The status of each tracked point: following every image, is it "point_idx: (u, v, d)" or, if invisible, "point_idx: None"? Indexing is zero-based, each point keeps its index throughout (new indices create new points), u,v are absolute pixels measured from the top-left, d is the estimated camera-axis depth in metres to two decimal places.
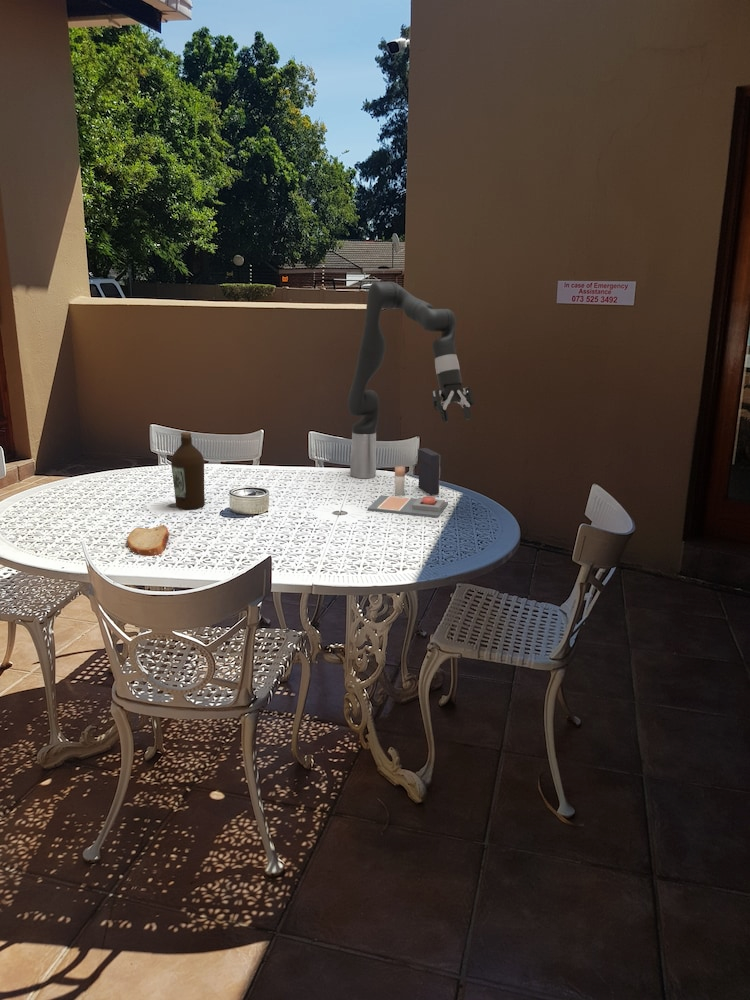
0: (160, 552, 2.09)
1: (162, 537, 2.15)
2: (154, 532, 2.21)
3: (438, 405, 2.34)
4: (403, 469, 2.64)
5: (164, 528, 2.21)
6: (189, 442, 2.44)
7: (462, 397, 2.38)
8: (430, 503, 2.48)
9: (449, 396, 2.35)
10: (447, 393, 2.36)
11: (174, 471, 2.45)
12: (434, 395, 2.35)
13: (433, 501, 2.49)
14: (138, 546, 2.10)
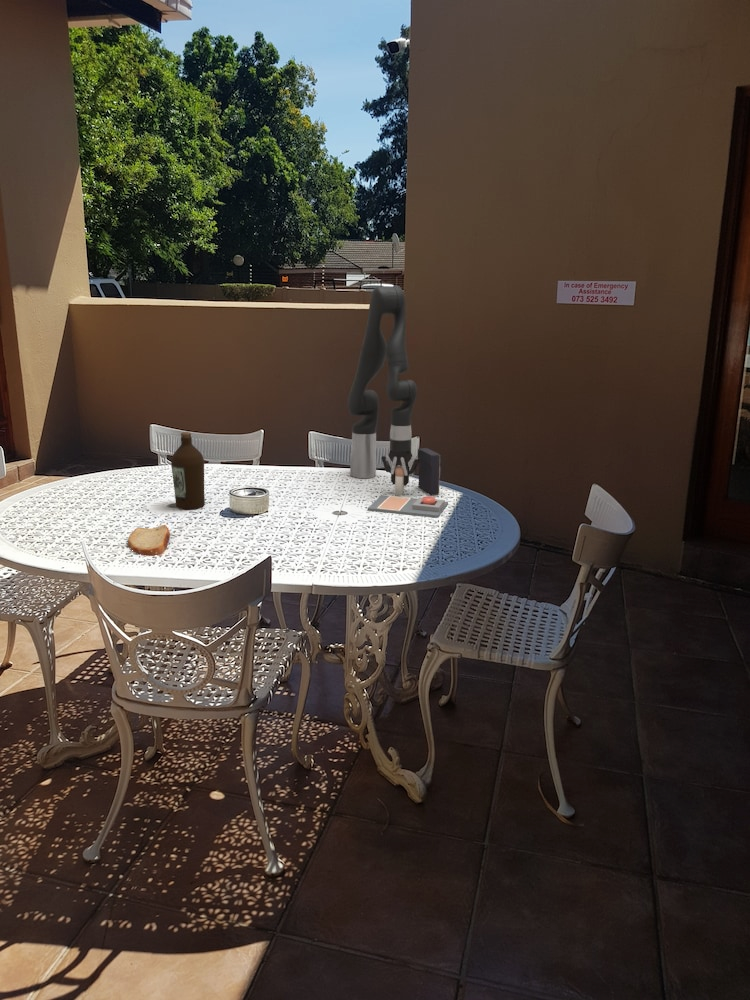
0: (161, 552, 2.09)
1: (163, 537, 2.15)
2: (155, 532, 2.21)
3: (386, 469, 2.66)
4: None
5: (165, 528, 2.21)
6: (189, 442, 2.44)
7: (403, 465, 2.63)
8: (430, 503, 2.48)
9: (394, 462, 2.63)
10: (392, 459, 2.64)
11: (174, 471, 2.45)
12: None
13: (433, 501, 2.49)
14: (139, 545, 2.10)
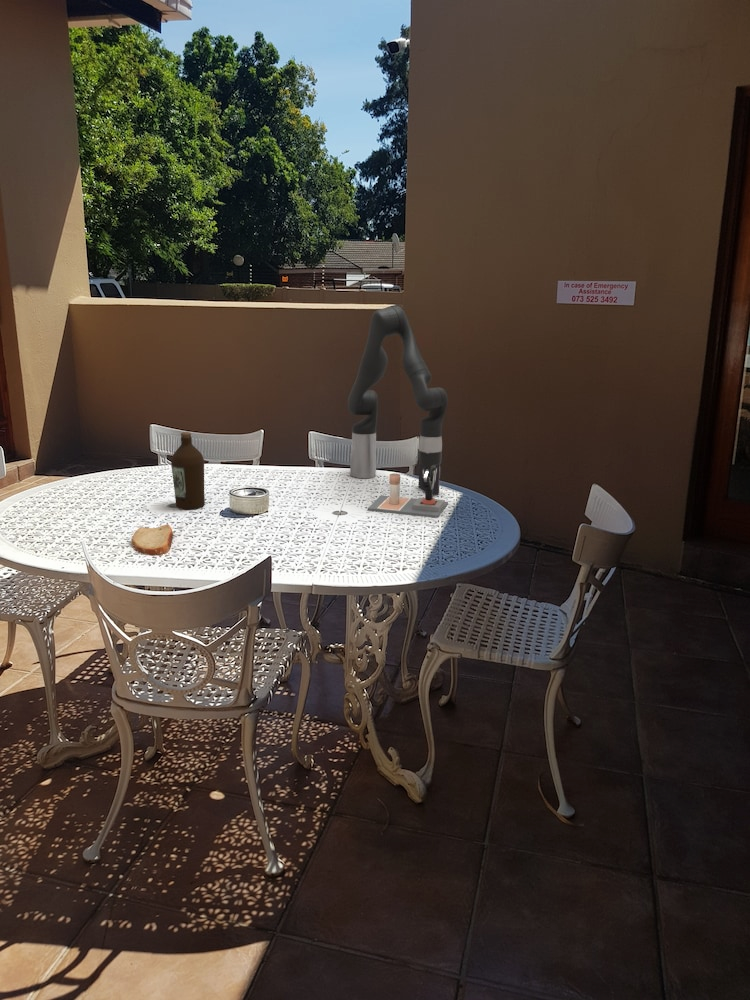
0: (166, 551, 2.10)
1: (167, 536, 2.15)
2: (158, 532, 2.21)
3: (430, 487, 2.46)
4: (398, 477, 2.50)
5: (168, 527, 2.22)
6: (189, 442, 2.44)
7: (435, 476, 2.48)
8: (430, 504, 2.49)
9: (433, 476, 2.46)
10: (431, 475, 2.45)
11: (174, 471, 2.45)
12: (425, 481, 2.43)
13: (433, 502, 2.49)
14: (143, 545, 2.11)
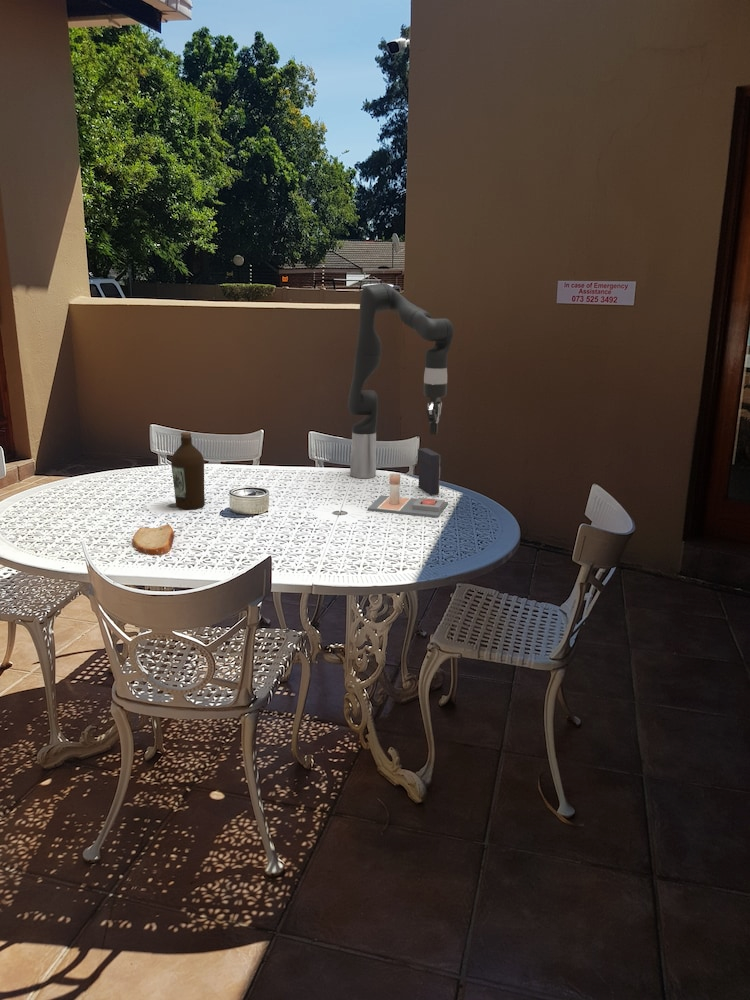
0: (167, 551, 2.10)
1: (168, 536, 2.15)
2: (159, 532, 2.21)
3: (435, 420, 2.43)
4: (398, 477, 2.50)
5: (169, 527, 2.22)
6: (189, 442, 2.44)
7: (440, 410, 2.46)
8: None
9: (438, 409, 2.44)
10: (436, 407, 2.43)
11: (174, 471, 2.45)
12: (430, 413, 2.41)
13: (433, 504, 2.49)
14: (144, 545, 2.11)
